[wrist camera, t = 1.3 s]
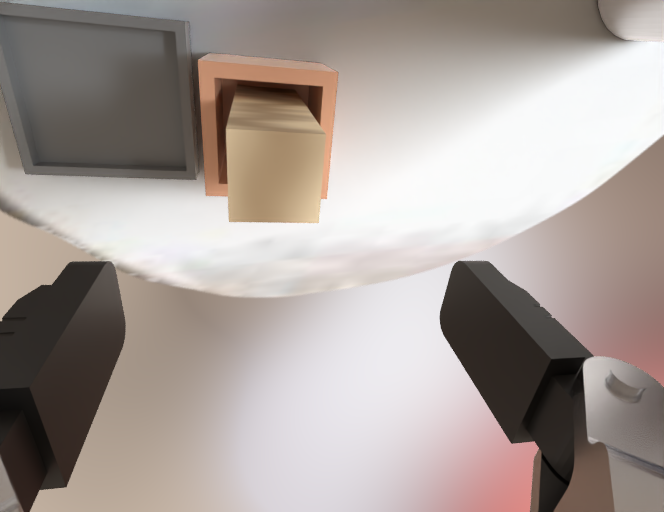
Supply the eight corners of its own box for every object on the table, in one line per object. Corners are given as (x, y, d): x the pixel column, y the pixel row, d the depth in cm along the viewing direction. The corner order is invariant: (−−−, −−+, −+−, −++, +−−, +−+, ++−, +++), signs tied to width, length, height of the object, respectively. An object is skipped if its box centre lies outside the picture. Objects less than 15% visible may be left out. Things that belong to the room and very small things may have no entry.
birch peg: (294, 89, 29) (326, 134, 17) (292, 145, 31) (318, 222, 19) (236, 84, 28) (225, 128, 16) (238, 143, 30) (228, 221, 18)
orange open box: (320, 62, 29) (338, 72, 23) (312, 167, 32) (326, 198, 26) (209, 52, 27) (197, 59, 21) (214, 163, 31) (205, 195, 25)
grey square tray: (189, 21, 26) (184, 21, 25) (199, 171, 31) (196, 179, 29) (-4, 1, 24) (-24, -1, 22) (38, 165, 29) (25, 174, 27)
